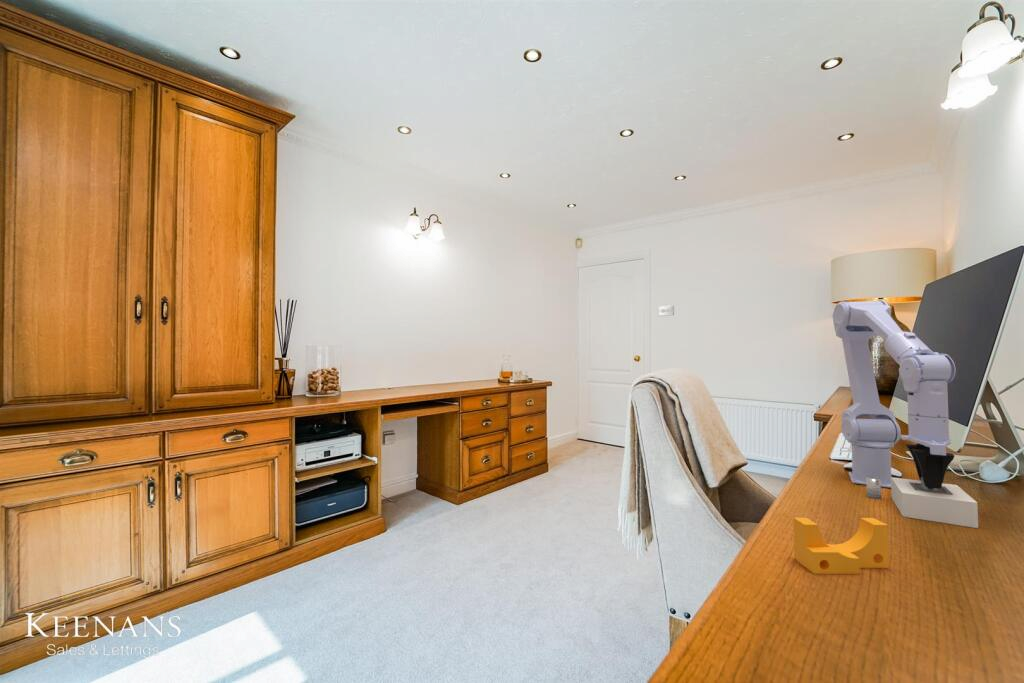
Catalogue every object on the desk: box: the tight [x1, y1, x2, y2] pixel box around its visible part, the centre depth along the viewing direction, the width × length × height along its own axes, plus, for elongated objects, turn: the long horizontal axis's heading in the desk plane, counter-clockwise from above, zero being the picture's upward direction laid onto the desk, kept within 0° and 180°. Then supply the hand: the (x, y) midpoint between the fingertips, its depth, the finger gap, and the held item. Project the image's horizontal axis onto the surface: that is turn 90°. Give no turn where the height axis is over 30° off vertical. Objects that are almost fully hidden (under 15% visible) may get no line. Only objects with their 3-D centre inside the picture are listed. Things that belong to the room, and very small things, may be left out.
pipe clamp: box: [793, 517, 890, 575], centre depth 63 cm, size 12×4×6 cm, turn 88°
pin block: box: [890, 476, 979, 529], centre depth 83 cm, size 12×10×5 cm
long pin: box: [921, 477, 938, 491], centre depth 84 cm, size 2×2×6 cm
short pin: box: [866, 477, 882, 500], centre depth 92 cm, size 2×2×4 cm
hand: (930, 484), depth 84 cm, fingers open, 4 cm apart
